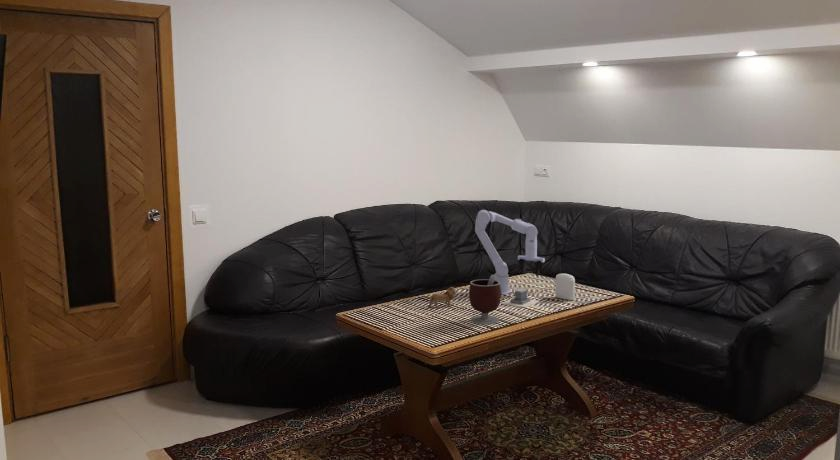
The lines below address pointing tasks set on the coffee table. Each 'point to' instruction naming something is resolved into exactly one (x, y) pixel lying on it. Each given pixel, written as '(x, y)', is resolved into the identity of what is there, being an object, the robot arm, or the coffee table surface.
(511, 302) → the plate
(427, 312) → the coffee table surface
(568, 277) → the photo printer
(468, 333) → the coffee table surface
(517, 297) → the block
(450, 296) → the lion figurine
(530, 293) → the coffee table surface
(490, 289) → the mate gourd
